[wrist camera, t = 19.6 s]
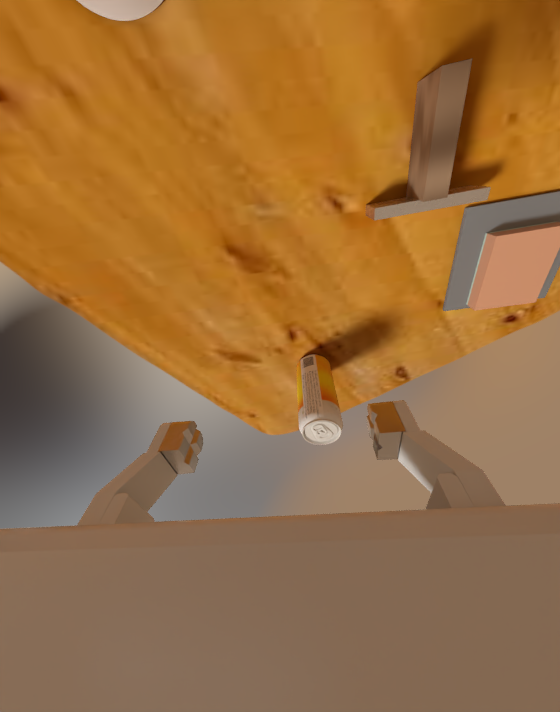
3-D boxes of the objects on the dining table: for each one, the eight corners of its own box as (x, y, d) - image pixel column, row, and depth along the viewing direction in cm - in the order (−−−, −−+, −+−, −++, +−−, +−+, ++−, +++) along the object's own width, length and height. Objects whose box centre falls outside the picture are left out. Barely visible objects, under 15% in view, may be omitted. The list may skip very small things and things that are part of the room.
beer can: (306, 382, 49) (312, 451, 37) (290, 360, 46) (291, 428, 34) (335, 369, 47) (351, 438, 35) (320, 346, 44) (332, 412, 32)
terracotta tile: (496, 236, 31) (474, 310, 37) (570, 224, 30) (535, 302, 36) (485, 233, 33) (466, 304, 38) (554, 221, 32) (524, 296, 38)
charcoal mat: (465, 207, 32) (467, 208, 31) (592, 184, 30) (596, 184, 29) (442, 309, 40) (444, 310, 39) (542, 296, 38) (544, 297, 38)
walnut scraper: (368, 94, 26) (383, 80, 22) (495, 64, 25) (536, 42, 21) (365, 215, 32) (376, 221, 28) (466, 196, 31) (493, 200, 27)
